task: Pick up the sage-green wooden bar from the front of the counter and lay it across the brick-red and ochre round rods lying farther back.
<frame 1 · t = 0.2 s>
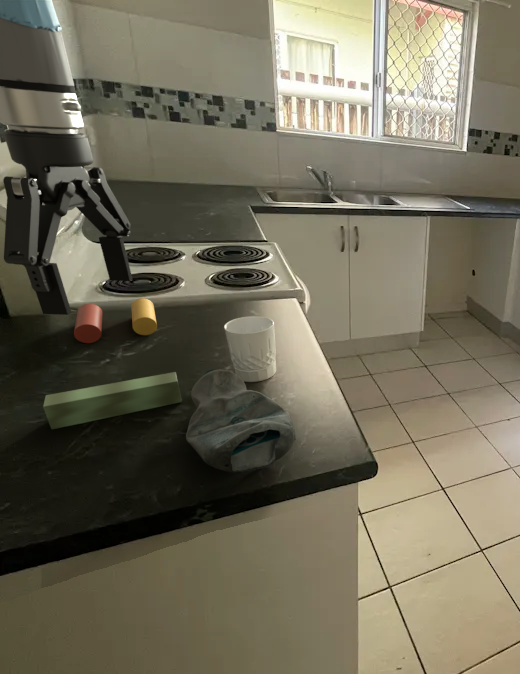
hand: (92, 295, 66), 20 cm above the worktop, tool pointing down, fingers open, 13 cm apart
yellow rod: (145, 324, 102), on the worktop
green bar: (120, 409, 75), on the worktop
white cup: (256, 374, 88), on the worktop
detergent: (236, 431, 73), on the worktop
red rod: (91, 331, 97), on the worktop
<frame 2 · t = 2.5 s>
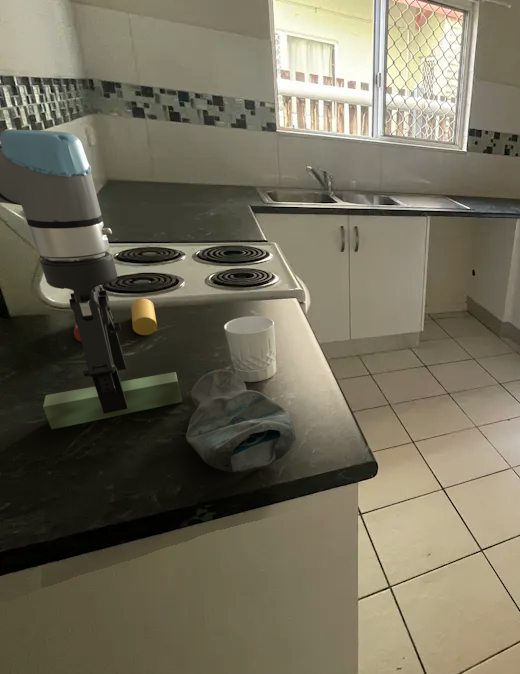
hand: (116, 388, 73), 4 cm above the worktop, tool pointing down, fingers open, 13 cm apart
nothing on the worktop moved.
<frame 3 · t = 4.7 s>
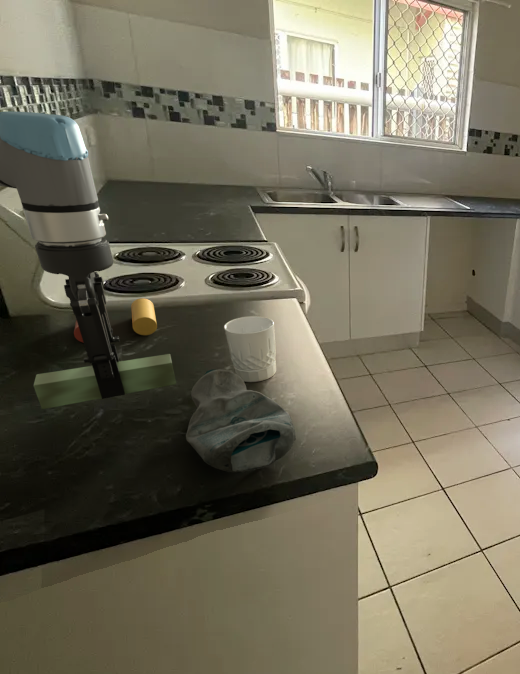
hand: (113, 388, 73), 4 cm above the worktop, tool pointing down, fingers closed on green bar, 3 cm apart
green bar: (113, 390, 73), point 3 cm above the worktop, touching gripper
everything else where it was.
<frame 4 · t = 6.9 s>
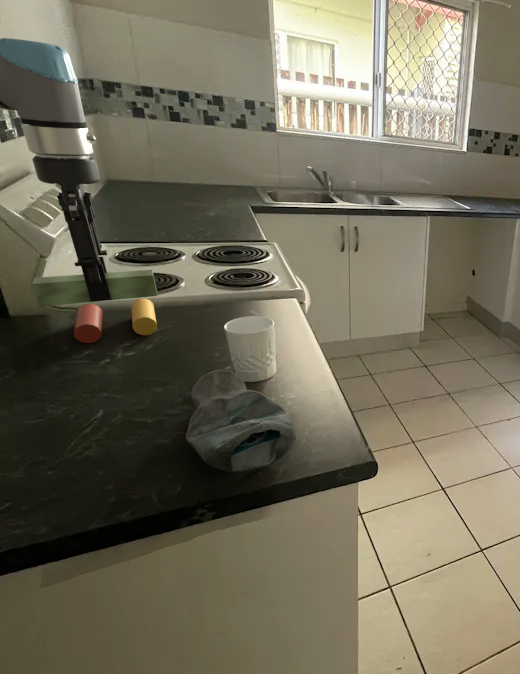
hand: (101, 296, 84), 12 cm above the worktop, tool pointing down, fingers closed on green bar, 3 cm apart
green bar: (101, 297, 84), point 12 cm above the worktop, touching gripper
everything else where it was.
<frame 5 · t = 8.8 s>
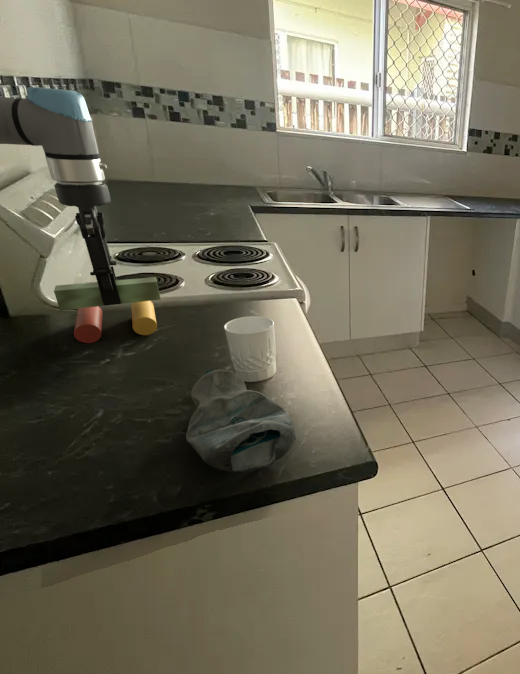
hand: (112, 300, 97), 6 cm above the worktop, tool pointing down, fingers closed on green bar, 3 cm apart
green bar: (112, 302, 97), point 6 cm above the worktop, touching gripper
everything else where it was.
when the fingers open (4 cm above the worktop, at t = 9.6 s): green bar stays where it is, resting on red rod, yellow rod.
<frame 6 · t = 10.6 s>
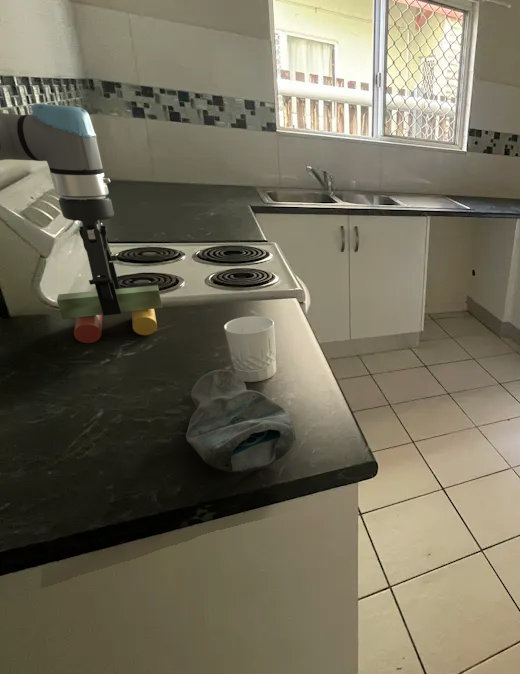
hand: (112, 302, 97), 6 cm above the worktop, tool pointing down, fingers open, 13 cm apart
green bar: (115, 310, 98), point 4 cm above the worktop, touching red rod, yellow rod
everything else where it was.
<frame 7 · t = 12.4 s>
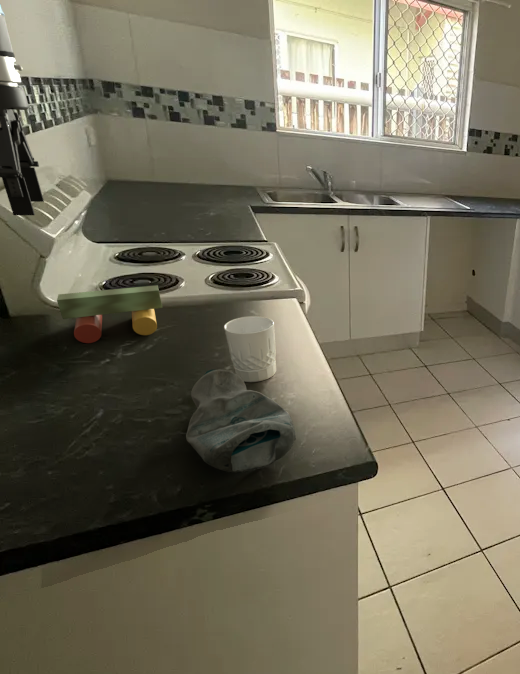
hand: (29, 208, 90), 24 cm above the worktop, tool pointing down, fingers open, 13 cm apart
nothing on the worktop moved.
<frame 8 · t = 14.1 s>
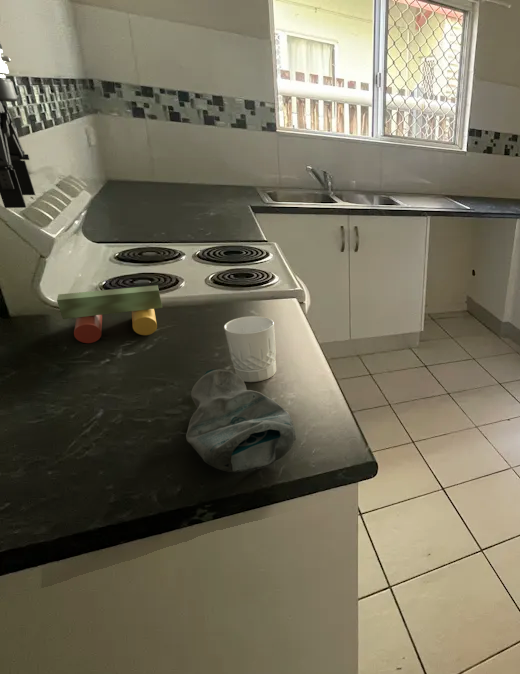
hand: (21, 201, 90), 25 cm above the worktop, tool pointing down, fingers open, 13 cm apart
nothing on the worktop moved.
at the end: green bar 0.1 cm from the target spot on the red rod, point 4.0 cm above the red rod's base; green bar touching red rod, yellow rod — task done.
